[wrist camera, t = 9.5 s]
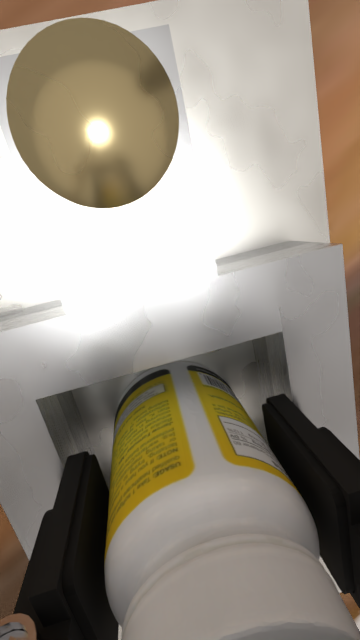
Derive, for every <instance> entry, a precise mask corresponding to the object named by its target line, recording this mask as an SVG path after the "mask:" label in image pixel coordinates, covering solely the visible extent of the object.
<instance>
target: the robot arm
mask: <svg viewBox="0 0 360 640" xmlns="http://www.w3.org/2000/svg"><path fill="white" fill-rule="evenodd" d="M262 412H263V417H264V423H265V429H266V434H267V440H268V445H269V447H270V449H271V450H272V452H273V453H274V455H275V457H276V458H277V460H278V461H279V463H280V464H281V466H282V467H283V469H284V470H285V472H286V473H287V475H288V476H289V478H290V479H291V481H292V482H293V484H294V486H295V487H296V489H297V490H298V492H299V493H300V495H301V496H302V498H303V499H304V501H305V503H306V505H307V507H308V509H309V511H310V513H311V515H312V517H313V520H314V522H315V525H316V528H317V533H318V538H319V548H320V554H319V555H320V556H321V558H322V560H323V561H324V563H325V565H326V566H327V568H328V570H329V572H330V573H331V575H332V577H333V578H334V580H335V582H336V583H337V585H338V587H339V588H340V590H341V591H342V593H344V594H347V593H350V594H351V595H352V597H353V599H354V600H355V602H356V603H357V605H358V607H359V608H360V460H359V459H358V458H357V457H356V456H355V455H354V454H353V453H352V452H351V451H350V450H349V449H348V448H347V447H346V446H345V445H344V444H343V443H342V442H341V441H340V440H339V439H338V438H337V437H336V436H335V435H334V434H333V433H332V432H331V431H330V430H329V429H327V428H326V427H321V428H317V427H316V426H315V425H314V424H313V423H312V422H311V421H310V420H309V419H308V418H307V417H306V416H305V415H304V414H303V413H302V412H301V411H300V410H299V408H298V407H297V406H296V405H295V404H294V403H293V402H292V401H291V400H290V399H289V398H288V397H287V396H286V395H285V394H279V395H276V396H272V397H269V398H267V399H266V403H265V404H262ZM108 506H109V490H108V487H107V484H106V482H105V479H104V476H103V473H102V471H101V468H100V465H99V463H98V460H97V457H96V455H95V454H91V455H89V453H88V451H84V452H81V453H77V454H74V455H70V456H68V457H67V460H66V463H65V467H64V470H63V474H62V478H61V481H60V485H59V488H58V492H57V496H56V499H55V503H54V506H53V509H51V510H48V511H46V512H45V514H44V516H43V518H42V522H41V525H40V528H39V531H38V535H37V538H36V541H35V545H34V548H33V551H32V554H31V558H30V561H29V564H28V567H27V571H26V574H25V577H24V581H23V584H22V587H21V590H20V594H19V597H18V600H17V603H16V607H15V610H14V613H13V614H12V615H9V616H7V617H4V618H2V619H0V640H118V630H119V623H118V622H117V620H116V618H115V616H114V614H113V612H112V610H111V608H110V605H109V601H108V597H107V594H106V587H105V574H104V559H105V547H106V533H107V521H108Z"/></svg>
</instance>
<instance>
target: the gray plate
mask: <svg viewBox="0 0 360 640" xmlns="http://www.w3.org/2000/svg"><path fill="white" fill-rule="evenodd" d="M173 362H190V363H196V364H199V365H203V366H205V367H207V368H209V369H211V370H213V371H214V372H216V373H217V374H218V375H220V376H221V377H222V378H223V379H224V380H225V381H226V382H227V384H228V385H229V386H230V388H231V389H232V391H233V392H234V394H235V396H236V397H237V399H238V400H239V401H240V403H241V404H242V406H243V407H244V409H245V411H246V412H247V414H248V415H249V417H250V418H251V420H252V421H253V423H254V424H255V426H256V427H257V429H258V431H259V432H260V434H261V435H262V437H263V438H264V440H265V441H266V443H267V444H268V440H267V434H266V429H265V423H264V417H263V412H262V404H265V403H266V399H267V398H269V397H272V396H276V395H279V394H285V395H286V396H287V397H288V398H289V399H290V400H291V401H292V402H293V403H294V404H295V405H296V406H297V407H298V408H299V410H300V411H301V412H302V413H303V414H304V415H305V416H306V417H307V418H308V419H309V420H310V421H311V422H312V423H313V424H314V425H315V426H316V427H317V428H321V427H326V428H327V429H329V430H330V431H331V432H332V433H333V434H334V435H335V436H336V437H337V438H338V439H339V440H340V441H341V442H342V443H343V444H344V445H345V446H346V447H347V448H348V449H349V450H350V451H351V452H352V453H353V454H354V455H355V456H356V457H357V458H358V459H359V447H358V434H357V422H356V409H355V397H354V384H353V372H352V359H351V347H350V334H349V322H348V309H347V296H346V284H345V271H344V259H343V246H342V244H337V243H330V237H329V226H328V215H327V204H326V193H325V182H324V171H323V160H322V149H321V137H320V126H319V115H318V104H317V93H316V82H315V71H314V60H313V49H312V38H311V27H310V16H309V5H308V0H158V1H153V2H148V3H142V4H137V5H132V6H126V7H121V8H116V9H110V10H105V11H100V12H95V13H89V14H84V15H79V16H73V17H68V18H63V19H57V20H52V21H47V22H41V23H36V24H31V25H25V26H20V27H15V28H9V29H4V30H0V503H1V505H2V507H3V509H4V511H5V513H6V515H7V517H8V519H9V521H10V523H11V525H12V527H13V529H14V531H15V533H16V535H17V537H18V539H19V541H20V543H21V545H22V547H23V549H24V551H25V553H26V555H27V557H28V559H29V561H30V558H31V554H32V551H33V548H34V545H35V541H36V538H37V535H38V531H39V528H40V525H41V522H42V518H43V516H44V514H45V512H46V511H48V510H51V509H53V506H54V503H55V499H56V496H57V492H58V488H59V485H60V481H61V478H62V474H63V470H64V467H65V463H66V460H67V457H68V456H70V455H74V454H77V453H81V452H84V451H88V453H89V455H91V454H95V455H96V457H97V460H98V463H99V465H100V468H101V471H102V473H103V476H104V479H105V482H106V484H107V487H108V490H109V491H110V476H111V462H112V448H113V434H114V421H115V414H116V409H117V406H118V403H119V401H120V398H121V396H122V395H123V393H124V391H125V390H126V388H127V387H128V386H129V385H130V384H131V383H132V382H133V381H134V380H135V379H136V378H137V377H138V376H140V375H141V374H143V373H144V372H146V371H148V370H150V369H152V368H154V367H157V366H160V365H163V364H167V363H173ZM268 446H269V445H268ZM359 460H360V459H359ZM319 561H320V563H321V564H322V565H323V567H324V569H325V570H326V572H327V573H328V574H329V576H330V577H331V578H332V580H333V582H334V584H335V585H336V588H337V590H338V592H339V593H341V592H342V591H341V590H340V588H339V587H338V585H337V583H336V582H335V580H334V578H333V577H332V575H331V573H330V572H329V570H328V568H327V566H326V565H325V563H324V561H323V560H322V558H321V556H320V555H319ZM121 639H122V627H121V626H120V624H119V630H118V640H121Z"/></svg>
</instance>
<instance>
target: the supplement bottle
mask: <svg viewBox="0 0 360 640" xmlns="http://www.w3.org/2000/svg"><path fill="white" fill-rule="evenodd" d="M319 554H320V548H319V538H318V533H317V528H316V525H315V522H314V520H313V517H312V515H311V513H310V511H309V509H308V507H307V505H306V503H305V501H304V499H303V498H302V496H301V495H300V493H299V492H298V490H297V489H296V487H295V486H294V484H293V482H292V481H291V479H290V478H289V476H288V475H287V473H286V472H285V470H284V469H283V467H282V466H281V464H280V463H279V461H278V460H277V458H276V457H275V455H274V453H273V452H272V450H271V449H270V447H269V446H268V444H267V443H266V441H265V440H264V438H263V437H262V435H261V434H260V432H259V431H258V429H257V427H256V426H255V424H254V423H253V421H252V420H251V418H250V417H249V415H248V414H247V412H246V411H245V409H244V407H243V406H242V404H241V403H240V401H239V400H238V399H237V397H236V396H235V394H234V392H233V391H232V389H231V388H230V386H229V385H228V384H227V382H226V381H225V380H224V379H223V378H222V377H221V376H220V375H218V374H217V373H216V372H214V371H213V370H211V369H209V368H207V367H205V366H203V365H199V364H196V363H190V362H173V363H167V364H163V365H160V366H157V367H154V368H152V369H150V370H148V371H146V372H144V373H143V374H141V375H140V376H138V377H137V378H136V379H135V380H134V381H133V382H132V383H131V384H130V385H129V386H128V387H127V388H126V390H125V391H124V393H123V395H122V396H121V398H120V401H119V403H118V406H117V409H116V414H115V421H114V434H113V448H112V462H111V476H110V491H109V506H108V521H107V533H106V547H105V559H104V574H105V587H106V594H107V597H108V601H109V605H110V608H111V610H112V612H113V614H114V616H115V618H116V620H117V622H118V623H119V624H120V626H121V627H122V639H121V640H360V631H359V629H358V628H357V626H356V624H355V622H354V620H353V618H352V617H351V615H350V613H349V611H348V609H347V607H346V606H345V604H344V602H343V600H342V598H341V596H340V594H339V592H338V590H337V588H336V585H335V584H334V582H333V580H332V578H331V577H330V576H329V574H328V573H327V572H326V570H325V569H324V567H323V565H322V564H321V563H320V561H319Z"/></svg>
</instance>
